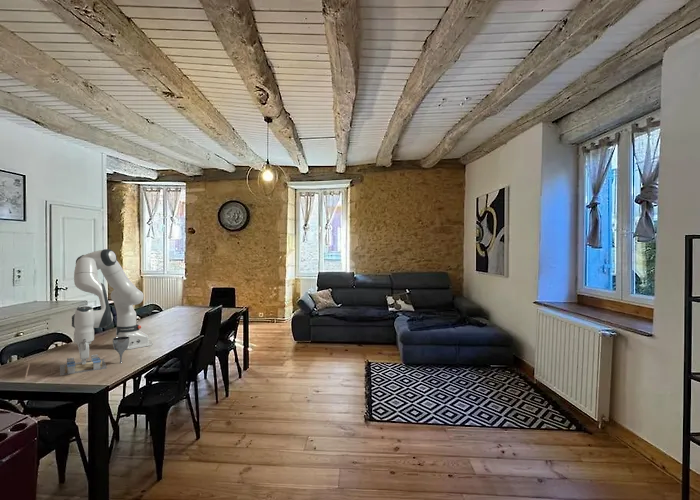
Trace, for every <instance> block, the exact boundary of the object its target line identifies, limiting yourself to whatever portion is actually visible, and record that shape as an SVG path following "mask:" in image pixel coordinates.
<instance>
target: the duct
mask: <svg viewBox="0 0 700 500" xmlns="http://www.w3.org/2000/svg"><path fill="white" fill-rule="evenodd" d="M101 360H102V367H101V368H100V362H101ZM87 362H93V369H88V370H81V371H75V364H80V363H82V361H78V362H76V361H75V358H74V357H68V358H66V364H60V365H59V376H62V377H63V376H68V375H72V374H73V375H74V374H79V373H80V374H81V373H85V372H86V373H87V372H93V371H99V370H105V369H108V367H107V364H106V362H105V359H104V358H100V357H99V355H98V353H97V354H96V353H95V354H91V356H90V360H86V363H87ZM66 365H67V367H68V373H65V366H66Z"/></svg>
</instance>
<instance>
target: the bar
mask: <svg viewBox="0 0 700 500" xmlns="http://www.w3.org/2000/svg"><path fill="white" fill-rule="evenodd" d="M101 367H102V360H101V362H100V368H101ZM88 369H93V362H87V363H86V364H82V363H80V364H75V371H81V370H88ZM65 373H68V367H67V365H66V366H65Z"/></svg>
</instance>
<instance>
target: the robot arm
mask: <svg viewBox="0 0 700 500" xmlns="http://www.w3.org/2000/svg"><path fill="white" fill-rule="evenodd" d="M98 270H100V272H101V274H102V275H103V277H104V278H105V281H106V282H107V284H108V286H109V287H110V288H112V289H113V290H112V291H111V293H110V299H111V301H112V302H113V304H114V307H115V312H116V327H115V335H116V336H115V338H116V337H124V336H126V337H129V345H128V348H127V349H126V350H133V349H139V348H144V347H148V346H149V347H150V346H153V345H154V344H153V343H154V342H153V341H152V340H150V337H149V335H148V334H147V333H146V332H143V330H141V329H142V325H139V324H137V311H136V310H135V309H134V306H136V305H140V304H141V303H142V302H143V300H144V298H145V296H144V293H143V291H141V290H140V289H139V288H138V287H137V286H136V285H135V284H134V283H133V282H132V280H130V278H129V277H128V276H127V274H126V272H125V271H124V269H123V267H122V266H121V264H120V262H119V261H118V259H117V254H116V252H115V251H114V250H112V249H110V248H105V249H101V250H96V251H92V252H88V253H85V254H82V255H79V256H78V257H77V258H76V260H75V267H74V271H73V272H74V273H73V281H74V283H73V284H74V285H75V287H76V288H77V289H79V290H80V291H83V292H84V293H85V292H86V293H89V294H92V295H95V296H97V298H98V299H99V303H100V308H101V309H99V310H94V308H93V307H92V306H89V305H87V306H86V305H85V306H79V307H77V308H76V309H75V312H74V314H73V315H72V316H71V327H73V328H74V331H73V343H75V344H76V346H77V349H78V353H79V358H80V360H81V362H82V364H86V361H87V360H88V359H90V345H91V344H92V342H93V341H94V340H95V329H97V328H99V329H102V328H104V329H106V328H108V327H109V326H111V324H113V319H114V317H113V313H112V311H111V307H110V303H109V299H108V293H107V290H106V286H105V285H104V283H103V282H100V280H99V277H98Z"/></svg>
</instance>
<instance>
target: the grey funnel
mask: <svg viewBox="0 0 700 500" xmlns="http://www.w3.org/2000/svg"><path fill="white" fill-rule="evenodd" d="M128 345H129V337H126V336H124V337H116V336H115V337H113V338H112V346H113V350H115V351H116V353H118V354H119V364H123V362H122V361H123V355H124V353H125V352H126V350H128V349H127V348H128Z"/></svg>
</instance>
